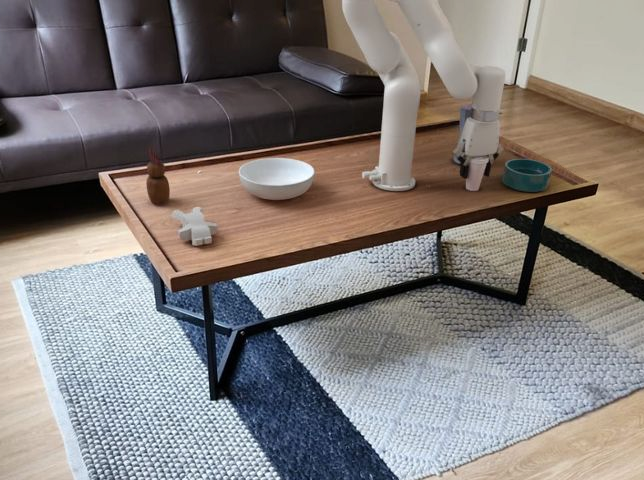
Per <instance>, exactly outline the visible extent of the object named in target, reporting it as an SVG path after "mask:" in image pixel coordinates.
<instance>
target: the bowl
mask: <svg viewBox="0 0 644 480" xmlns="http://www.w3.org/2000/svg"><path fill="white" fill-rule="evenodd" d="M503 168H504V169H503V172H502V173H503V174H502V178H501V182H502V183H503V184H504V185H505V186H506V187H509V188H510V189H513V190H516V191H520V192H526V193H536V192H542V191H545V190H547V189H548V188H549V184H550V181H551V176H552V171H553V167H551V166H550V165H548V164H547V163H544V162H542V161H539V160H535V159H529V158H513V159H508V160H507V161H505V163H504V167H503Z"/></svg>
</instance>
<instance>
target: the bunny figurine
mask: <svg viewBox="0 0 644 480" xmlns="http://www.w3.org/2000/svg"><path fill="white" fill-rule="evenodd" d="M171 217H172V219H176V221H177V220H178V221H180V222H181V226H182V227H181V228H179V229H177V236H178V239H179V240H187V241H188V240H190V241H191V244H192V246H196V247H197V246H203V245H208V244H212V243H213V239H212V235H215V234H217V233H218V232H219V231H218V224H217V223H215V222H210V221H205V216H204V210H203V209H202V207H200V206H195V207H193V208H192V211H190V212H186V213H185V212H183V211H181V210H179V209H175V210H173V212H172V214H171Z"/></svg>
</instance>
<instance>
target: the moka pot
mask: <svg viewBox="0 0 644 480" xmlns="http://www.w3.org/2000/svg"><path fill="white" fill-rule="evenodd" d="M471 107H472V103H464V104H462V105H460V106H459V138H458V142H457V146H456V148H457V147H458V146H459V144H460V139H461V135H462V131H463V128H464V125H465V122H466V120H467V118H470V113H471ZM463 153H464V152H460V155H461V156H462V155H463ZM453 162H454V163H456V164H458V165H461V163H460V162H459V160H458V159H457V158H456V157H455V155H454V154H453Z"/></svg>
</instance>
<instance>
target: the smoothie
mask: <svg viewBox="0 0 644 480" xmlns="http://www.w3.org/2000/svg"><path fill="white" fill-rule="evenodd" d="M488 160H489V157H488V156H487V155H483V156H472V157H471V159H470V161H469V163H468V166H469V170H468V177H467V179H465V189H466V190H467V191H471V192H477V191H479V189H480V186H481V183H482V180H483V177H484V175H483V174H484V170H485V167H486V164H487V162H488Z"/></svg>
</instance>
